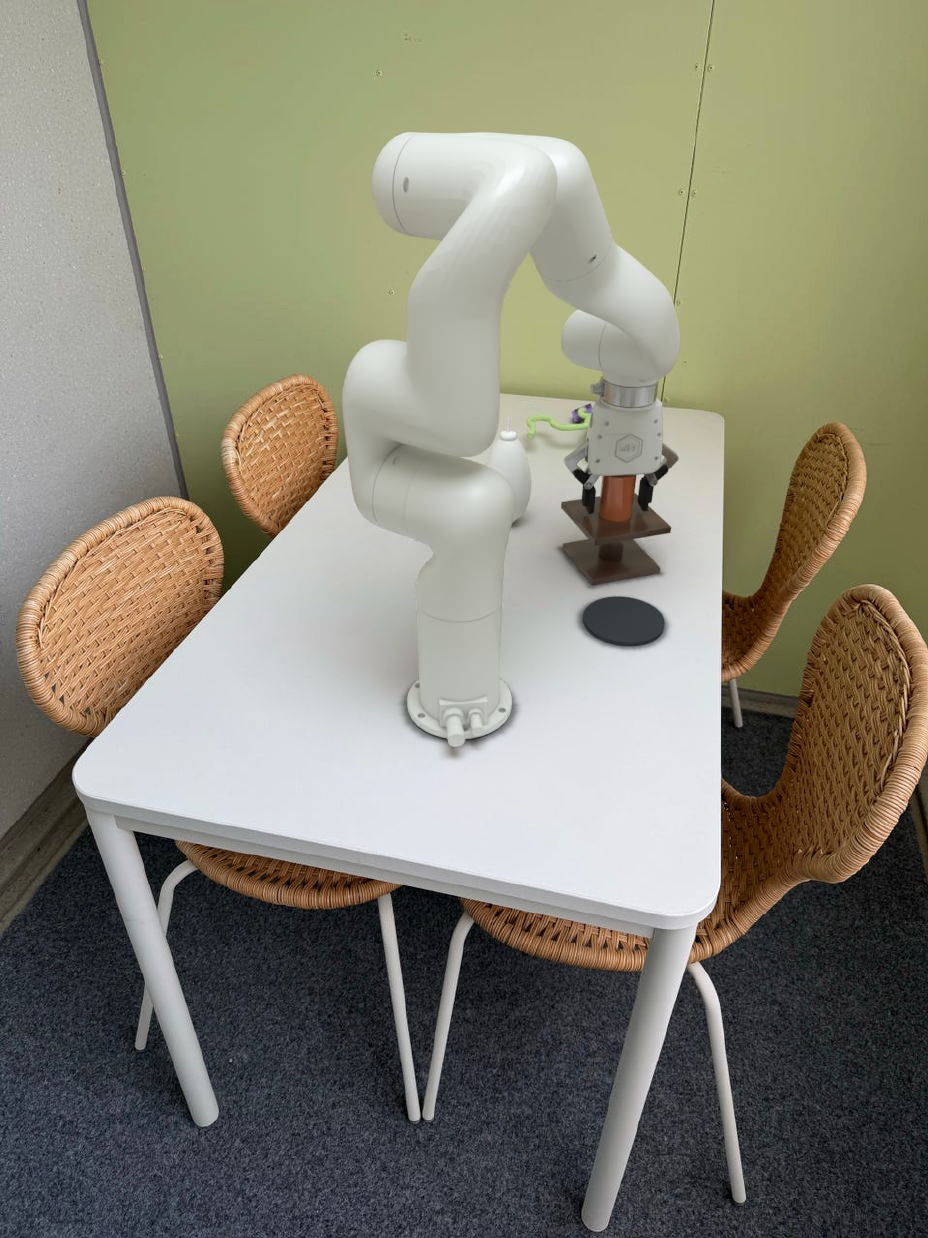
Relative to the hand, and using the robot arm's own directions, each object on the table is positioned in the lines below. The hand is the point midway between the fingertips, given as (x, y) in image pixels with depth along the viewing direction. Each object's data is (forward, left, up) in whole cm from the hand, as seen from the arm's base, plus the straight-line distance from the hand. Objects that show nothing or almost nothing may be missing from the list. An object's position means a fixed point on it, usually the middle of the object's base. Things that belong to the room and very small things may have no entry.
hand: (615, 507), depth 127 cm
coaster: (-16, +2, -9) cm, 18 cm away
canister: (0, 0, -1) cm, 1 cm away
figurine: (+44, -7, -9) cm, 46 cm away
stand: (0, 0, -9) cm, 9 cm away
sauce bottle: (+14, +14, -9) cm, 22 cm away
